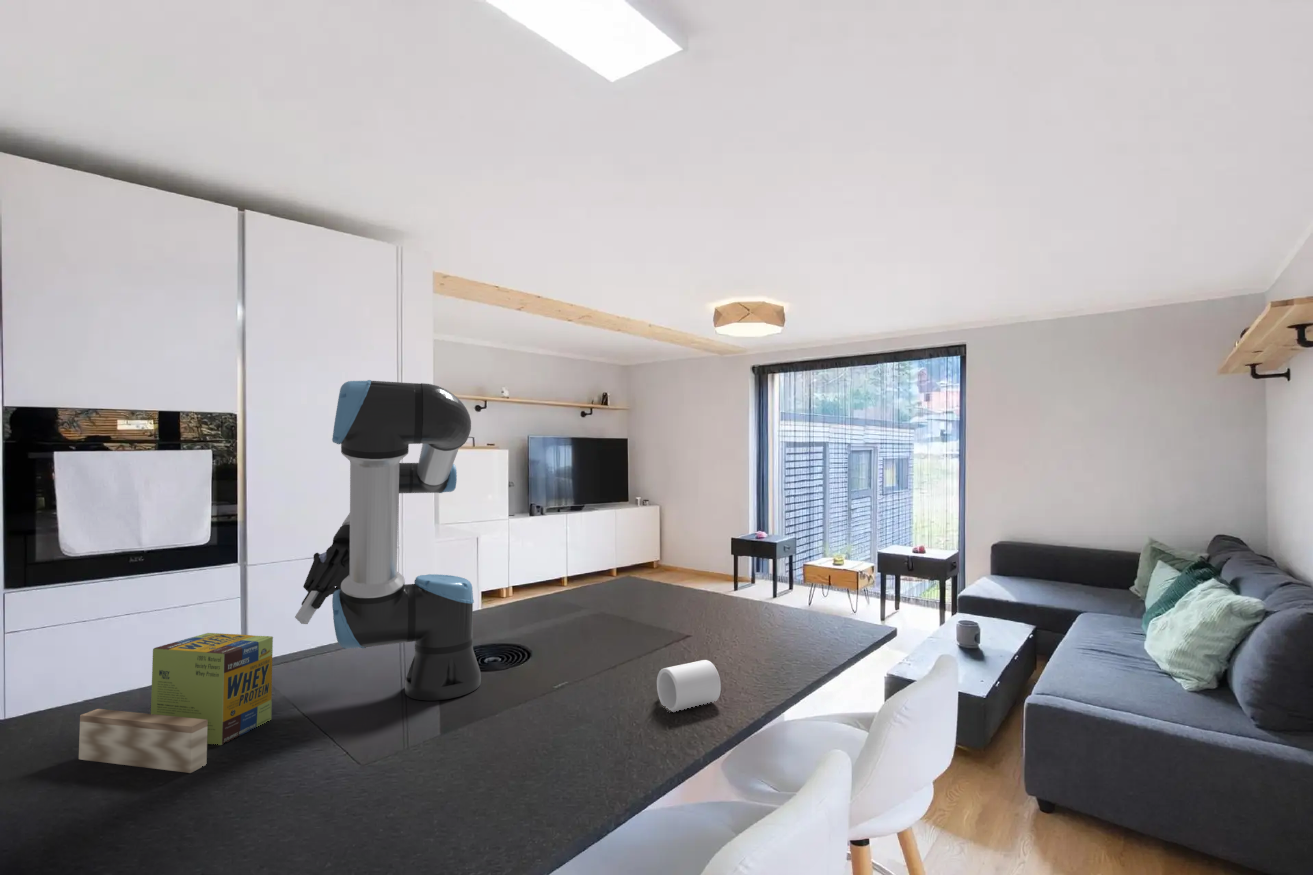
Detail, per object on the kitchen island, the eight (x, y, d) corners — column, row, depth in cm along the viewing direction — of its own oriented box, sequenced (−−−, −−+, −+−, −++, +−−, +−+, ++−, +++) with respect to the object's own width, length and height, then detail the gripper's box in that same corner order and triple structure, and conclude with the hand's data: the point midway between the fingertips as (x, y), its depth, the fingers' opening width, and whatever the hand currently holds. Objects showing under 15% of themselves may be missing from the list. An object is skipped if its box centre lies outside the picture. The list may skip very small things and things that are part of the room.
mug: (721, 707, 117) (721, 666, 117) (678, 719, 112) (677, 675, 112) (687, 687, 127) (687, 649, 128) (646, 697, 122) (646, 657, 122)
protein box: (222, 746, 102) (224, 653, 102) (148, 738, 105) (150, 647, 106) (273, 720, 112) (275, 635, 113) (204, 713, 115) (206, 631, 116)
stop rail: (206, 764, 96) (207, 719, 96) (190, 772, 93) (191, 726, 93) (96, 751, 100) (97, 708, 100) (78, 759, 97) (80, 715, 98)
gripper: (387, 543, 147) (336, 631, 130) (340, 541, 149) (284, 628, 133) (372, 523, 142) (318, 612, 125) (324, 522, 144) (265, 609, 128)
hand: (301, 620), depth 129 cm, fingers closed
